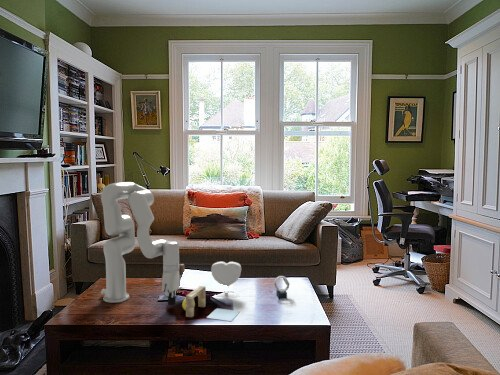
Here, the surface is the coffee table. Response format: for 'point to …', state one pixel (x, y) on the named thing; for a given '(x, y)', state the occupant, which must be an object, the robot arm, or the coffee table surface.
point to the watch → (281, 293)
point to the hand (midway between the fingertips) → (171, 304)
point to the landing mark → (223, 314)
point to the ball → (185, 304)
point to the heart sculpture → (226, 275)
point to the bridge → (190, 300)
